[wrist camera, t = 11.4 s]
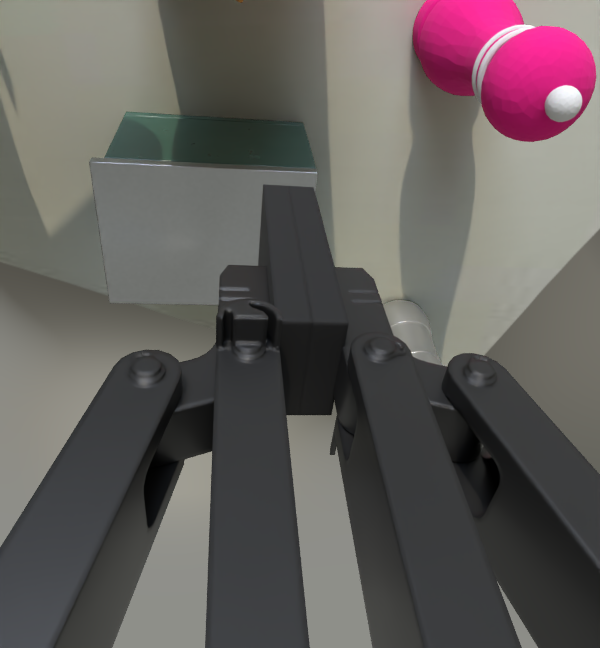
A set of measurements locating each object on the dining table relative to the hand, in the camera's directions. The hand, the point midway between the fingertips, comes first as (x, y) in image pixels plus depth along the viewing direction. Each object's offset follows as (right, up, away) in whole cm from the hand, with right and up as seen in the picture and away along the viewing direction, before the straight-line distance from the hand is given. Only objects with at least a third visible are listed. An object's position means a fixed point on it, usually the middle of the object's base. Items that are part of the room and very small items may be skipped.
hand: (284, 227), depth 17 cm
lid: (-6, +4, +25) cm, 26 cm away
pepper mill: (+12, +20, +27) cm, 36 cm away
